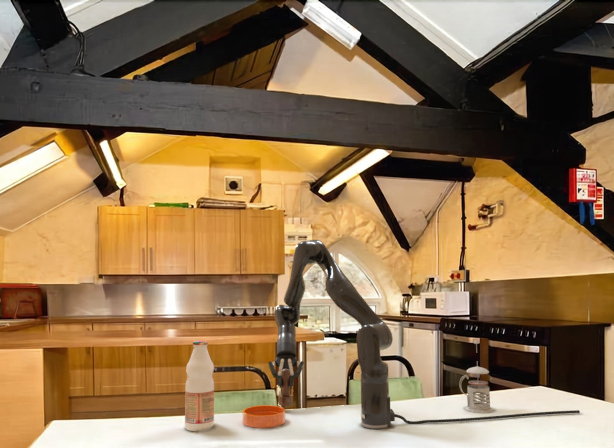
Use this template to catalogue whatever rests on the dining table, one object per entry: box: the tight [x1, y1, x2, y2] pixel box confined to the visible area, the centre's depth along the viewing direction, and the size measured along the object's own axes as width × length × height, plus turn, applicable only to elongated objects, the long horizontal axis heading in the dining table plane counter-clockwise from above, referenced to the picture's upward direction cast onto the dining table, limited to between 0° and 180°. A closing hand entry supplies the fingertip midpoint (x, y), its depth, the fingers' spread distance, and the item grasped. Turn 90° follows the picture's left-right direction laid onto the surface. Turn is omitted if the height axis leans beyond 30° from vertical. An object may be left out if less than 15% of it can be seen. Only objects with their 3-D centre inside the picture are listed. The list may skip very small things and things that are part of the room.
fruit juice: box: [184, 339, 215, 432], centre depth 175 cm, size 9×9×28 cm
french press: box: [458, 339, 494, 414], centre depth 195 cm, size 10×12×25 cm
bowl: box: [241, 404, 286, 429], centre depth 177 cm, size 14×14×4 cm
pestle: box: [278, 368, 294, 407], centre depth 192 cm, size 5×5×13 cm
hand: (285, 386), depth 190 cm, fingers closed on pestle, 3 cm apart
